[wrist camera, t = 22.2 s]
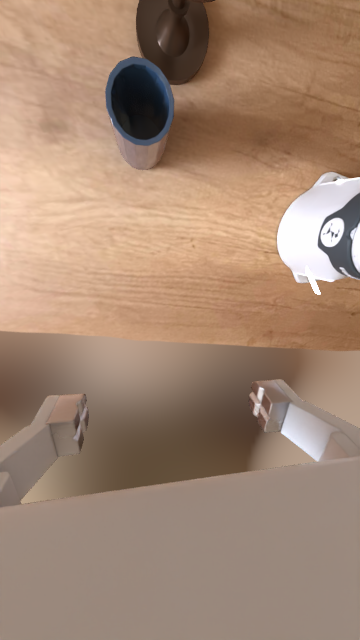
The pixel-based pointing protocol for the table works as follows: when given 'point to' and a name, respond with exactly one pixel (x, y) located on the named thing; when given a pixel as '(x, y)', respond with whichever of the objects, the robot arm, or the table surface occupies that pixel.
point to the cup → (140, 111)
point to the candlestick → (173, 36)
